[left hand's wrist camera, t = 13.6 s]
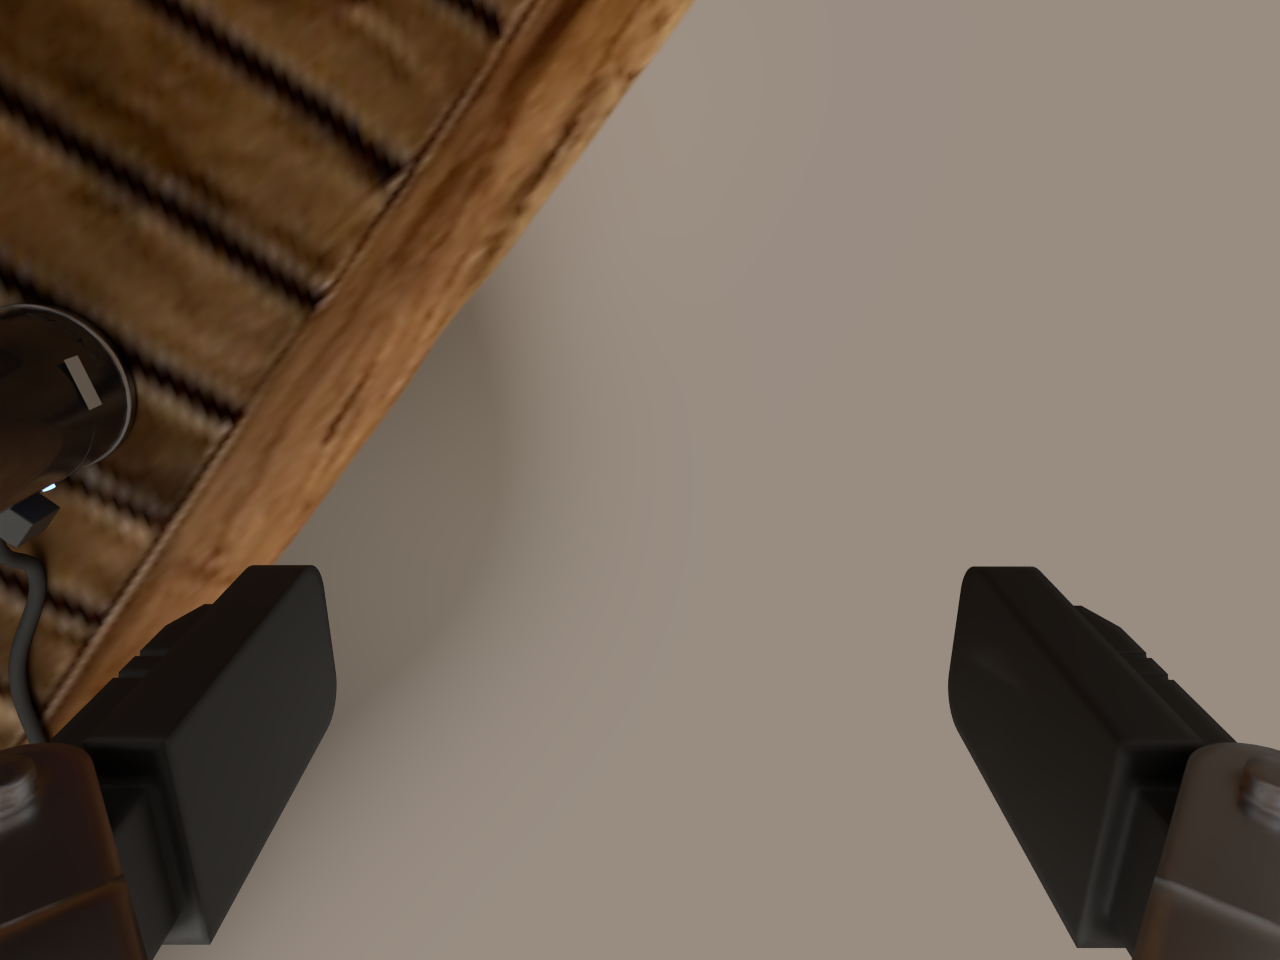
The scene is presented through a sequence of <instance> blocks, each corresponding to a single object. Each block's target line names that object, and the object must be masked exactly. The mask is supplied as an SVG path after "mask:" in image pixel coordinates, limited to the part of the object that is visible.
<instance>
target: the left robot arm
mask: <svg viewBox="0 0 1280 960" xmlns="http://www.w3.org/2000/svg"><path fill="white" fill-rule="evenodd" d="M135 411H136V395H135V388H134V384H133V380H132V377H131V374H130V371H129V369H128V367H127V365H126V363H125V361H124V359H123V357H122V356H121V354H120V353H119V351H118V350H117V348H116V347H115V346H114V344H113V343H112V342H111V341H110V340H109V339H108V338H107V337H106V336H105V335H104V334H103V333H102V332H101V331H100V330H99V329H98V328H96V327H95V326H94V325H93V324H91V323H90V322H88V321H87V320H85V319H84V318H82V317H80V316H79V315H77V314H75V313H73V312H71V311H68V310H66V309H63V308H60V307H57V306H53V305H49V304H44V303H34V302H30V303H17V304H12V305H8V306H4V307H0V563H1V564H3V565H6V566H9V567H13V568H19V569H23V570H25V572H26V574H27V576H28V581H29V593H28V598H27V602H26V606H25V609H24V612H23V615H22V618H21V620H20V623H19V626H18V628H17V631H16V634H15V637H14V641H13V644H12V648H11V652H10V659H9V683H10V689H11V694H12V698H13V702H14V705H15V708H16V711H17V714H18V716H19V719H20V721H21V724H22V726H23V729H24V731H25V734H26V736H27V738H28V741H29V743H30V744H27V745H22V746H17V747H12V748H8V749H4V750H1V751H0V960H153V958H154V957H155V955H156V953H157V952H158V950H159V948H160V947H161V945H164V944H167V945H168V944H174V945H175V944H176V945H178V944H179V945H182V944H183V945H185V944H188V945H189V944H194V945H195V944H196V945H198V944H199V945H202V944H203V945H204V944H205V945H206V944H208V945H209V944H211V942H212V940H213V938H214V936H215V935H216V933H217V931H218V929H219V927H220V925H221V923H222V922H223V920H224V918H225V916H226V914H227V912H228V911H229V909H230V907H231V905H232V903H233V901H234V900H235V898H236V896H237V894H238V892H239V890H240V888H241V887H242V885H243V883H244V881H245V879H246V877H247V876H248V874H249V872H250V870H251V868H252V866H253V865H254V863H255V861H256V859H257V857H258V855H259V854H260V852H261V850H262V848H263V846H264V844H265V843H266V841H267V839H268V837H269V835H270V833H271V831H272V830H273V828H274V826H275V824H276V822H277V820H278V819H279V817H280V815H281V813H282V811H283V809H284V808H285V806H286V804H287V802H288V800H289V798H290V797H291V795H292V793H293V791H294V789H295V787H296V785H297V784H298V782H299V780H300V778H301V776H302V774H303V773H304V771H305V769H306V767H307V765H308V763H309V762H310V760H311V758H312V756H313V754H314V752H315V750H316V749H317V747H318V745H319V743H320V741H321V739H322V738H323V736H324V734H325V732H326V730H327V728H328V726H329V724H330V721H331V719H332V715H333V711H334V706H335V700H336V671H335V664H334V657H333V650H332V642H331V635H330V628H329V621H328V614H327V607H326V599H325V592H324V586H323V581H322V577H321V575H320V572H319V571H318V569H317V568H316V567H315V566H313V565H252V566H249V567H248V568H247V569H245V571H244V572H243V573H242V574H241V575H240V576H239V577H238V578H237V579H236V580H235V581H234V582H233V583H232V584H231V585H230V586H229V587H228V588H227V590H226V591H225V592H224V593H223V594H222V595H221V596H220V597H219V598H218V599H217V600H216V601H215V602H214V603H213V604H204V605H202V606H200V607H198V608H197V609H195V610H193V611H191V612H189V613H188V614H186V615H184V616H182V617H180V618H179V619H177V620H175V621H173V622H171V623H170V624H168V625H166V626H165V627H164V628H163V629H162V630H161V631H160V632H159V633H158V634H157V635H156V636H155V637H154V638H153V639H152V640H151V641H150V642H149V643H148V644H147V645H146V646H145V647H144V648H143V649H142V650H141V651H140V656H135V657H134V658H133V659H132V660H131V661H130V662H129V663H128V664H127V665H126V666H125V667H124V668H123V669H122V670H121V671H120V672H119V677H118V678H113V679H112V680H111V681H110V682H109V683H108V684H107V685H106V686H105V687H104V688H103V689H102V690H101V691H100V692H99V693H98V694H97V695H96V696H95V697H94V698H93V699H92V700H91V701H90V702H89V703H88V704H87V705H86V706H85V707H83V708H82V709H81V710H80V711H79V712H78V713H77V714H76V715H75V716H74V717H73V718H72V719H71V720H70V721H69V722H68V723H67V724H66V725H65V726H64V727H63V728H62V729H61V730H60V731H59V732H58V733H57V734H56V735H55V736H54V737H53V738H52V739H51V740H50V741H49V742H48V743H47V741H46V739H45V736H44V734H43V731H42V729H41V726H40V724H39V721H38V719H37V716H36V714H35V711H34V708H33V705H32V703H31V699H30V696H29V691H28V686H27V679H26V661H27V654H28V650H29V646H30V643H31V640H32V636H33V634H34V631H35V628H36V625H37V623H38V620H39V617H40V614H41V611H42V608H43V604H44V600H45V596H46V586H47V584H46V576H45V573H44V570H43V567H42V565H41V563H40V561H39V560H38V559H36V558H35V557H32V556H30V555H27V554H23V553H17V552H13V551H12V550H10V548H9V547H8V546H7V544H6V543H5V541H6V542H7V543H9V544H10V545H12V546H13V547H15V548H18V547H19V546H21V545H22V544H24V543H26V542H27V541H29V540H30V539H32V538H33V537H35V536H37V535H38V534H40V533H41V532H43V531H44V530H45V529H46V527H47V526H48V525H49V523H50V522H51V520H52V519H53V518H54V516H55V515H56V513H57V512H58V510H59V509H60V507H59V506H57V505H56V504H54V503H53V502H52V501H50V500H49V499H47V498H46V497H44V496H43V495H41V494H40V493H39V492H40V491H42V490H43V491H47V490H50V489H52V488H54V487H55V485H54V484H55V483H56V482H59V481H61V480H62V479H64V478H66V477H68V476H70V475H71V474H73V473H75V472H77V471H78V470H80V469H82V468H84V467H87V466H90V465H92V464H94V463H96V462H98V461H100V460H102V459H103V458H105V457H107V456H109V455H110V454H111V453H113V452H114V451H115V450H116V449H117V448H118V447H119V446H120V445H121V444H122V443H123V442H124V440H125V439H126V437H127V436H128V434H129V432H130V430H131V428H132V425H133V422H134V417H135ZM948 694H949V704H950V710H951V714H952V718H953V721H954V724H955V726H956V728H957V731H958V732H959V734H960V736H961V738H962V740H963V741H964V743H965V745H966V747H967V749H968V751H969V752H970V754H971V756H972V758H973V760H974V761H975V763H976V765H977V767H978V769H979V771H980V772H981V774H982V776H983V778H984V780H985V781H986V783H987V785H988V787H989V789H990V791H991V792H992V794H993V796H994V798H995V800H996V801H997V803H998V805H999V807H1000V809H1001V811H1002V812H1003V814H1004V816H1005V818H1006V820H1007V821H1008V823H1009V825H1010V827H1011V829H1012V830H1013V832H1014V834H1015V836H1016V838H1017V840H1018V841H1019V843H1020V845H1021V847H1022V849H1023V850H1024V852H1025V854H1026V856H1027V858H1028V860H1029V861H1030V863H1031V865H1032V867H1033V869H1034V870H1035V872H1036V874H1037V876H1038V878H1039V880H1040V881H1041V883H1042V885H1043V887H1044V889H1045V890H1046V892H1047V894H1048V896H1049V898H1050V900H1051V901H1052V903H1053V905H1054V907H1055V909H1056V911H1057V912H1058V914H1059V916H1060V918H1061V920H1062V921H1063V923H1064V925H1065V927H1066V929H1067V931H1068V932H1069V934H1070V936H1071V938H1072V939H1073V941H1074V943H1075V945H1076V947H1077V948H1126V949H1127V951H1128V952H1129V954H1130V955H1131V957H1132V960H1280V751H1279V750H1276V749H1272V748H1268V747H1263V746H1258V745H1253V744H1244V743H1237V742H1236V741H1235V740H1234V739H1233V738H1232V737H1231V736H1230V735H1229V734H1228V733H1227V732H1226V731H1225V730H1224V729H1223V728H1222V727H1221V726H1220V725H1219V724H1218V723H1217V722H1216V721H1215V720H1214V719H1213V718H1212V717H1211V716H1210V715H1209V714H1208V713H1207V712H1206V711H1205V710H1204V709H1203V708H1202V707H1201V706H1200V705H1199V704H1198V703H1196V702H1195V701H1194V700H1193V699H1192V698H1191V697H1190V696H1189V695H1188V694H1187V693H1186V692H1185V691H1184V690H1183V689H1182V688H1181V687H1180V686H1179V685H1178V684H1177V683H1176V682H1175V681H1174V680H1168V674H1167V673H1166V672H1165V671H1164V670H1163V669H1162V668H1161V667H1160V666H1159V665H1158V664H1157V663H1156V662H1155V661H1154V660H1153V659H1152V658H1147V657H1146V652H1145V651H1144V650H1143V649H1142V648H1141V647H1140V646H1139V645H1138V644H1137V643H1136V642H1135V641H1134V640H1133V639H1132V638H1131V637H1130V636H1129V635H1128V634H1127V633H1126V632H1125V631H1124V630H1123V629H1121V628H1120V627H1119V626H1117V625H1115V624H1113V623H1111V622H1110V621H1108V620H1106V619H1104V618H1102V617H1101V616H1099V615H1097V614H1095V613H1093V612H1092V611H1090V610H1088V609H1086V608H1084V607H1083V606H1073V605H1072V604H1071V603H1070V602H1069V601H1068V600H1067V599H1066V598H1065V596H1064V595H1063V594H1062V593H1061V592H1060V591H1059V590H1058V589H1057V588H1056V587H1055V586H1054V585H1053V584H1052V583H1051V582H1050V581H1049V580H1048V579H1047V578H1046V577H1045V576H1044V575H1043V574H1042V572H1041V571H1040V570H1038V569H1037V568H1035V567H971V568H969V569H968V570H967V572H966V574H965V576H964V578H963V582H962V586H961V593H960V600H959V607H958V614H957V621H956V628H955V635H954V642H953V649H952V656H951V663H950V670H949V679H948Z"/></svg>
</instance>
